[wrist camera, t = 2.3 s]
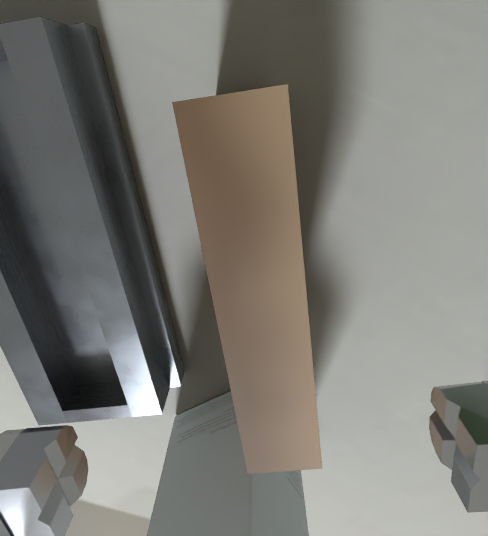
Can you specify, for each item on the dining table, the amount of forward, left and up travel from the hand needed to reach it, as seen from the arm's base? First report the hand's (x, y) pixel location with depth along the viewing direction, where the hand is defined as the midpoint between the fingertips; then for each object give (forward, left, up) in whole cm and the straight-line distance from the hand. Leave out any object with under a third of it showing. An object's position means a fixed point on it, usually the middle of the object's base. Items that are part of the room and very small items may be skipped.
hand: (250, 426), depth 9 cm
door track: (+12, 0, -16) cm, 20 cm away
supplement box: (+4, +17, -17) cm, 24 cm away
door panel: (0, 0, -16) cm, 16 cm away
